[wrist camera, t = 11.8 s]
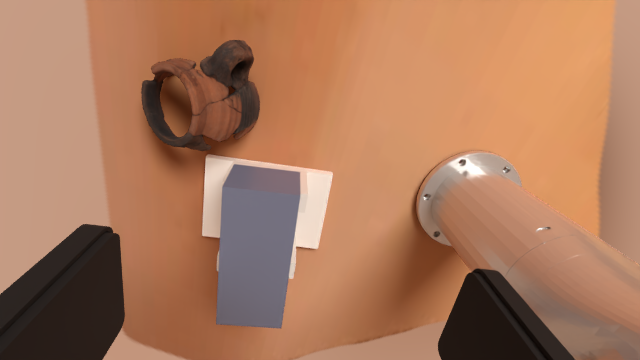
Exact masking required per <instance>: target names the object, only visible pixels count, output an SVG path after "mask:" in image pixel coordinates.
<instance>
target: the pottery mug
mask: <svg viewBox="0 0 640 360" xmlns="http://www.w3.org/2000/svg"><path fill="white" fill-rule="evenodd" d="M253 61H254V57H253V54H252V50H251V48H250V47H249V46H248V45H247V44H246V42H245V41H240V40H230V41H227V42H225V43H224V44H222V45H221V46H220V47H219V48H217V49H216V51H215V52H214V54H213V55H212V56H208V57H206V58H205V59H203V60H202V61H201V63H200V67H201V69H202V71H200V70H195V69H194V68H195V66H196V63H195V62H194V61H191V60H187V59H181V58H178V59H169V60H167V61H163V62H158V63H156V64H154V65H153V66H152V67H151V70H152V73H153V74H155V77H154V80H152V81H149V80H145V81H143V83H142V91H141V93H142V105H143V110H144V113H145V115H146V118H147V121H148V123H149V126H150V127H151V128H152V130H153V132H154V133H155V134H156V136H157V137H158V138H159V139H160V140H162V141H163V142H164V143H167V144H168V145H171V146H174V147H183V148H185V147H187V148H190V149H196V150H200V151H206V150H209V149H211V146H210V145H207V144H206V143H205V141H204V139H203V135H205V136H206V137H208V138H211V139H213V140H216V141H219V142H221V141H223V140H226V139H228V138H229V137H230V136H231V134H232V133H233V134H235V135H234V138H235V139H239V138H241V137H242V136H243V135H245V134H246V133H247V132H249V131H250V130H251V129H252V128H253V126H254V125H255V123H256V120H257V119H258V115H259V110H260V100H259V95H258V92H257V89H256V87H255V84H254V83H253V82H250V81H248V74H249V70H250V68H251V66H252V64H253ZM173 74H174V75H175V76H177V77H178V78H180V80H181V81H182V83H183V84H184V86H185V88H186V90H187V92H188V95H189V98H190V102H191V107H192V120H191V124H190V127H189V130H188V133H186V134H185V135H184V136H183V137H177V136H175V135H174V134H173V133H172V131H171V129H170V128H169V126H168V125H167V123H166V122H165V120H164V114H163V111H162V107H161V103H160V92H161V87H162V83H163V80H164V79H165V78H166V77H169V76H171V75H173ZM228 86H231V87H232V88H234V89H235V92H234V93H232V94H231V95H229V89H228Z"/></svg>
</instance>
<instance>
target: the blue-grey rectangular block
mask: <svg viewBox="0 0 640 360" xmlns="http://www.w3.org/2000/svg"><path fill="white" fill-rule="evenodd" d="M299 202H300V172H296V171H288V170H280V169H271V168H263V167H255V166H246V165H238V164H234V165H233V167H232V169H231V171H230V173H229V175H228V177H227V179H226V180H225V182H224V184H223V186H222V204H221V227H220V249H219V272H218V294H217V317H216V324H221V325H236V326H252V327H267V328H281V326H282V320H283V313H284V306H285V299H286V292H287V285H288V278H289V271H290V264H291V257H292V251H293V244H294V237H295V230H296V223H297V216H298V209H299Z"/></svg>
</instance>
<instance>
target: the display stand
mask: <svg viewBox="0 0 640 360" xmlns="http://www.w3.org/2000/svg"><path fill="white" fill-rule="evenodd" d="M234 164H238V165H246V166H255V167H263V168H271V169H280V170H288V171H296V172H300V202H299V209H298V216H297V223H296V230H295V237H294V244H293V251H292V257H291V264H290V271H289V278H292V279H293V276H294V271H295V265H296V247H305V248H314V249H318V246H319V241H320V236H321V231H322V226H323V221H324V216H325V211H326V207H327V202H328V197H329V192H330V187H331V182H332V177H333V174H332V172H329V171H322V170H315V169H308V168H301V167H294V166H287V165H280V164H273V163H266V162H259V161H252V160H245V159H238V158H231V157H224V156H217V155H210V154H208V155H207V156H206V162H205V183H204V205H203V227H202V236H208V237H217V238H220V227H221V204H222V186H223V184H224V182H225V180H226V179H227V177H228V175H229V173H230V171H231V169H232V167H233V165H234ZM216 271H219V252H218V255H217V268H216Z"/></svg>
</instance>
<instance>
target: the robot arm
mask: <svg viewBox="0 0 640 360" xmlns="http://www.w3.org/2000/svg"><path fill="white" fill-rule="evenodd" d="M460 160H461V161H460ZM459 161H460V162H459ZM425 194H426V195H425ZM416 213H417V216H418V220H419V222H420V224H421V226H422V227H423V229H424V230H425V232H426V233H427V234H428V235H429V236H430V237H431V238H432V239H434V240H435V241H437V242H439V243H441V244H444V245H448V246H452V247H453V248H454V249H455V251H456V252H457V253H458V255H459V256H460V257H461V259H462V260H463V261H464V263H465V264H466V265H467V267H468V268H469V270H470V271H471V272H472V273H468V274H467V276H466V278H465V280H464V282H463V285H462V287H461V289H460V292H459V294H458V296H457V299H456V301H455V304H454V306H453V308H452V311H451V313H450V315H449V318H448V320H447V322H446V325H445V328H444V330H443V332H442V334H441V337H440V339H439V342H438V351H439V355H440V357H441V359H442V360H640V264H638V263H637V262H635V261H633V260H632V259H630V258H628V257H627V256H625V255H624V254H622V253H621V252H619V251H618V250H616V249H615V248H613V247H612V246H610V245H609V244H607V243H606V242H604V241H602V240H601V239H599V238H598V237H596V236H595V235H593V234H592V233H590V232H589V231H587V230H586V229H584V228H583V227H581V226H580V225H578V224H577V223H575V222H574V221H572V220H571V219H569V218H568V217H566V216H565V215H563V214H562V213H560V212H559V211H557V210H556V209H554V208H552V207H551V206H549V205H548V204H546V203H545V202H543V201H542V200H540V199H539V198H537V197H536V196H534V195H533V194H531V193H530V192H528V191H527V190H525V189H524V188H522V183H521V179H520V176H519V174H518V172H517V170H516V169H515V167H514V166H513V165H512V164H511V163H510V162H508V161H507V160H506V159H504V158H502V157H501V156H499V155H496V154H494V153H491V152H486V151H468V152H463V153H459V154H457V155H454V156H452V157H450V158H448V159H446V160H445V161H443V162H441V163H440V164H439V165H438V166H437V167H435V168H434V169H433V170H432V171H431V172H430V173H429V175H428V176H427V177H426V178H425V180H424V182H423V183H422V185H421V187H420V190H419V193H418V195H417V201H416ZM124 317H125V312H124V296H123V281H122V265H121V250H120V238H119V235H118V234H116V233H113V230H112V228H110V227H107V226H98V225H89V224H83V225H81V226H80V227H79V228H77V229H76V230H75V231H74V232H73V233H72V234H70V235H69V236H68V237H67V238H66V239H65V240H63V241H62V242H61V243H60V244H59V245H58V246H56V247H55V248H54V249H53V250H52V251H51V252H49V253H48V254H47V255H46V256H45V257H44V258H43V259H41V260H40V261H39V262H38V263H36V264H35V265H34V266H33V267H32V268H31V269H30V270H29V271H27V272H26V273H25V274H24V275H22V276H21V277H20V278H19V279H18V280H17V281H15V282H14V283H13V284H12V285H11V286H10V287H9V288H7V289H6V290H5V291H4V292H3V293H1V294H0V360H102V359H103V358H104V356H105V354H106V353H107V351H108V349H109V348H110V346H111V345H112V343H113V341H114V340H115V338H116V337H117V335H118V333H119V332H120V330H121V328H122V325H123V322H124Z"/></svg>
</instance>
